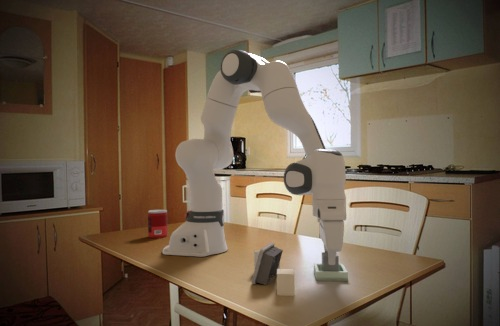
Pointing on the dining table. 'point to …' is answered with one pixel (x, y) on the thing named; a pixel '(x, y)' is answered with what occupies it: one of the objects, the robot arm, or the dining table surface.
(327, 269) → the grey part
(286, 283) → the beige part
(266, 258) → the electrical switch
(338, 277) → the tray
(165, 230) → the canned food
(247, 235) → the dining table surface
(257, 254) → the label plate
